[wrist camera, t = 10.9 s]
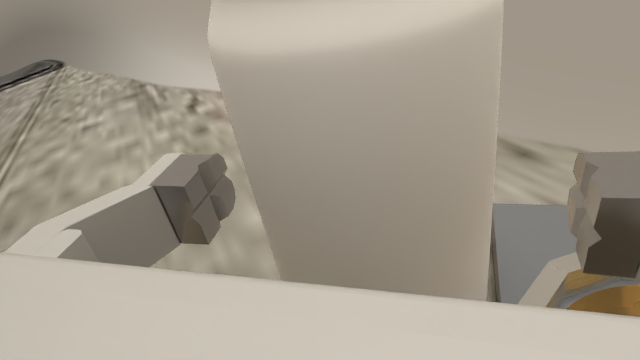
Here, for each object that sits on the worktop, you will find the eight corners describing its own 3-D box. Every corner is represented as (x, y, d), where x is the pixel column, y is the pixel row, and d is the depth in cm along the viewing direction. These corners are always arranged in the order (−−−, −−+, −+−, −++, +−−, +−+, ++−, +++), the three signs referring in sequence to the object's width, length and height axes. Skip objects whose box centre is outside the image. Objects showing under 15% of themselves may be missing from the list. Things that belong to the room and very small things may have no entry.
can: (282, 282, 17) (177, -44, 11) (424, 231, 18) (407, -94, 12) (332, 438, 12) (183, -23, 5) (529, 354, 13) (605, -120, 6)
